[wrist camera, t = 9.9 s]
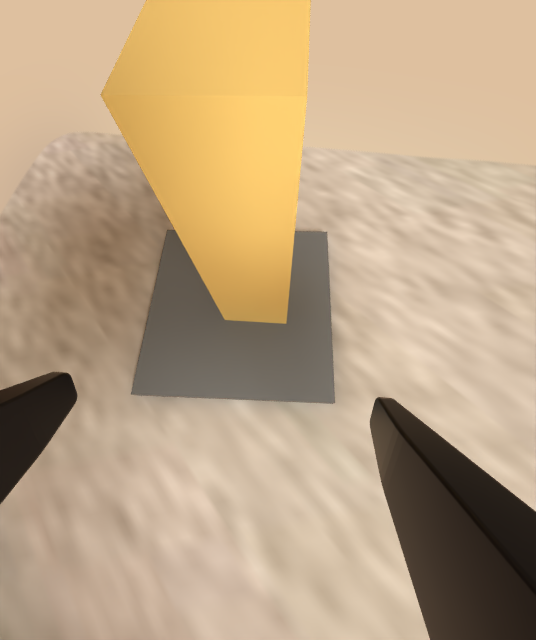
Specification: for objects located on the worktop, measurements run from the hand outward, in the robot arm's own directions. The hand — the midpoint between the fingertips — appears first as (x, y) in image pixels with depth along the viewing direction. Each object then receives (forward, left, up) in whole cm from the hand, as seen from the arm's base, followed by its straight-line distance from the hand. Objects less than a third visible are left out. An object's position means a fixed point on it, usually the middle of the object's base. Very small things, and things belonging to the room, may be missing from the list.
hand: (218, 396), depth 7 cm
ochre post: (+5, -5, -8) cm, 11 cm away
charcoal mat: (+5, -4, -8) cm, 11 cm away
